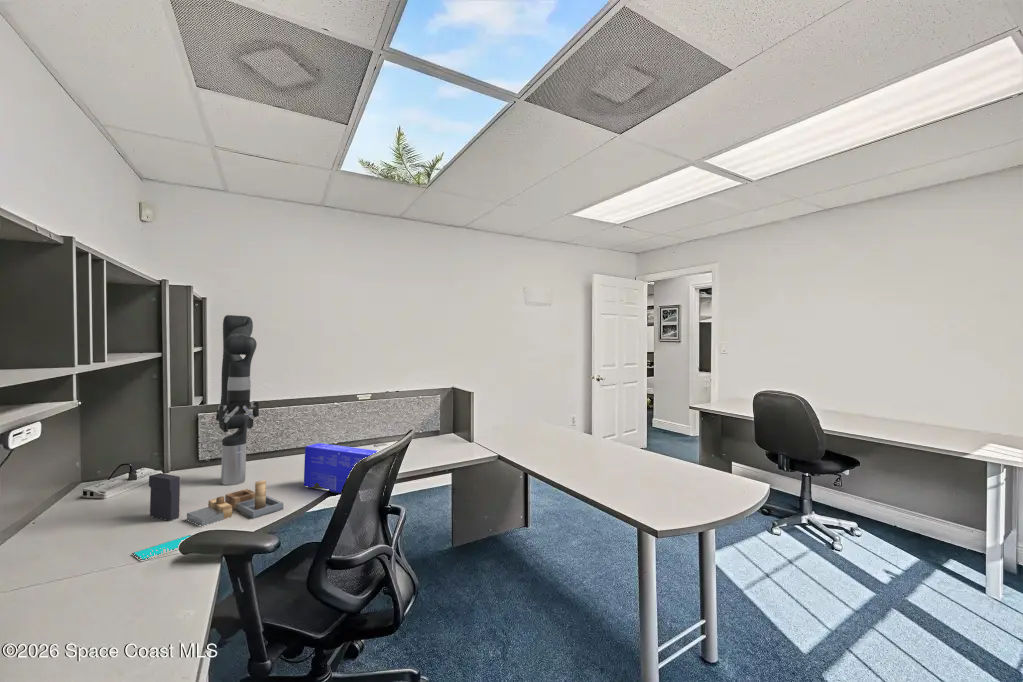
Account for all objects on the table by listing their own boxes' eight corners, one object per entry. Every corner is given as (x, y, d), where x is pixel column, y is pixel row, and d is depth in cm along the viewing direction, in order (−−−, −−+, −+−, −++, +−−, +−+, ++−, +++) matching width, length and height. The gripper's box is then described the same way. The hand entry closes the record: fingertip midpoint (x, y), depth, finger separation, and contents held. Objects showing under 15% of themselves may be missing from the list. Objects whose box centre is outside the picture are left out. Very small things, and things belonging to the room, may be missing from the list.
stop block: (208, 511, 160) (208, 495, 161) (217, 508, 163) (217, 492, 163) (222, 519, 154) (223, 502, 154) (231, 516, 156) (232, 500, 156)
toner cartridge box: (387, 494, 183) (388, 451, 183) (374, 501, 175) (375, 456, 175) (317, 481, 197) (319, 441, 197) (303, 487, 189) (304, 445, 189)
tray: (235, 510, 162) (236, 503, 162) (265, 501, 171) (266, 495, 171) (252, 518, 155) (253, 511, 155) (283, 509, 164) (283, 502, 164)
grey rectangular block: (186, 521, 152) (186, 513, 152) (208, 514, 158) (208, 506, 158) (202, 528, 147) (202, 519, 147) (223, 520, 154) (223, 512, 154)
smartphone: (131, 553, 128) (189, 534, 140) (131, 556, 128) (189, 537, 140) (141, 560, 124) (200, 540, 137) (141, 563, 124) (200, 543, 137)
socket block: (225, 504, 167) (225, 494, 167) (247, 498, 174) (247, 488, 174) (234, 509, 163) (235, 499, 163) (256, 503, 169) (257, 493, 169)
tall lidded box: (181, 517, 155) (182, 475, 155) (168, 521, 150) (169, 479, 150) (160, 512, 158) (162, 472, 158) (147, 517, 154) (148, 475, 154)
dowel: (252, 508, 162) (253, 482, 162) (262, 505, 166) (263, 479, 165) (257, 510, 161) (258, 484, 160) (267, 507, 164) (268, 481, 163)
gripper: (253, 385, 173) (252, 425, 173) (213, 388, 161) (212, 431, 161) (263, 387, 168) (261, 428, 169) (223, 390, 156) (221, 435, 157)
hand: (237, 430), depth 165 cm, fingers open, 8 cm apart
